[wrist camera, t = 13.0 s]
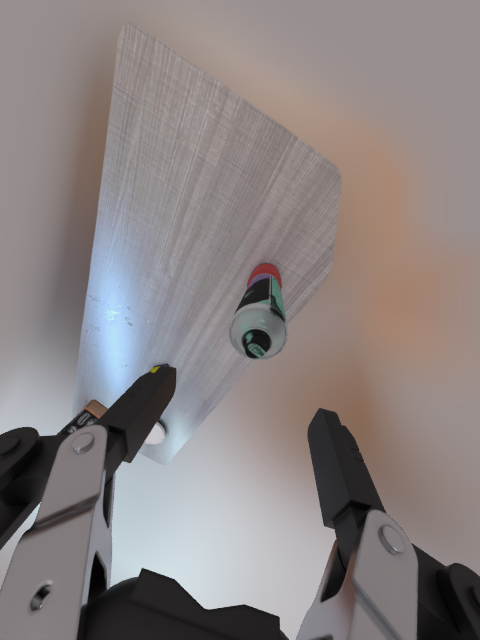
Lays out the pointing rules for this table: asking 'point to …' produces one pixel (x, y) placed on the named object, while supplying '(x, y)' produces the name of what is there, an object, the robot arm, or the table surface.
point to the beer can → (265, 272)
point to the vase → (156, 435)
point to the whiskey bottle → (84, 417)
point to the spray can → (260, 320)
